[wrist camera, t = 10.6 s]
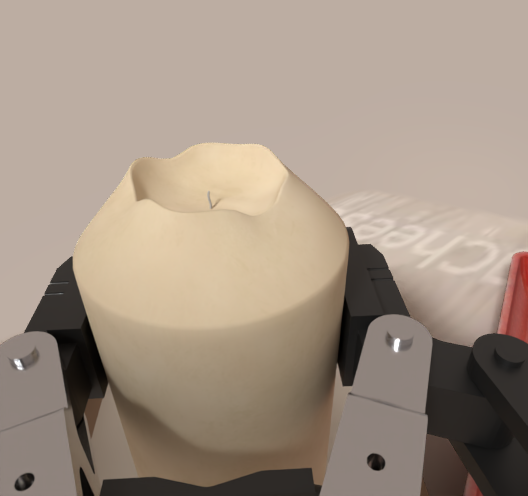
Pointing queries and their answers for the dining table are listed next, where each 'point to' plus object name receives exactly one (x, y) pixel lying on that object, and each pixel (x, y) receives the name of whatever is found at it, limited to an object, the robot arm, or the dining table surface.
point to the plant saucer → (511, 321)
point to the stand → (116, 446)
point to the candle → (217, 313)
